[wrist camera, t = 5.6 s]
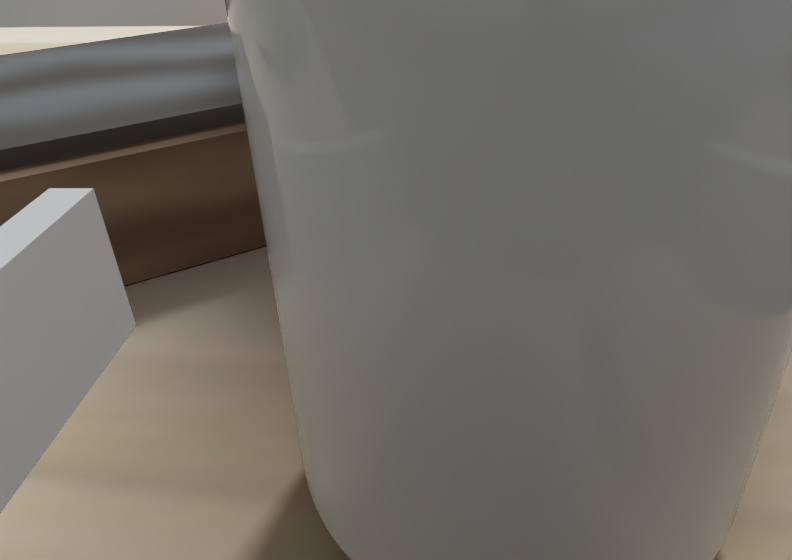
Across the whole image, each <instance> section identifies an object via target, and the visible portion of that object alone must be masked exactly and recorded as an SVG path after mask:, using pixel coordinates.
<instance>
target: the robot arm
mask: <svg viewBox="0 0 792 560" xmlns="http://www.w3.org/2000/svg"><path fill="white" fill-rule="evenodd" d="M135 326H136V323H135V320H134V317H133V313H132V310H131V307H130V304H129V301H128V297H127V294H126V291H125V288H124V284H123V281H122V278H121V275H120V272H119V268H118V265H117V262H116V259H115V256H114V252H113V249H112V246H111V243H110V240H109V236H108V233H107V230H106V227H105V224H104V220H103V217H102V214H101V211H100V208H99V204H98V201H97V198H96V195H95V192H94V188H49V189H48V190H46V191H45V192H44V193H43V194H41V195H40V196H39V197H37V198H36V199H35V200H34V201H32V202H31V203H30V204H28V205H27V206H26V207H25V208H23V209H22V210H21V211H20V212H18V213H17V214H16V215H14V216H13V217H12V218H11V219H9V220H8V221H7V222H5V223H4V224H3V225H2V226H0V513H1V512H2V510H3V509H4V507H5V506H6V505H7V503H8V502H9V500H10V499H11V498H12V496H13V495H14V494H15V492H16V491H17V489H18V488H19V487H20V485H21V484H22V483H23V481H24V480H25V478H26V477H27V476H28V474H29V473H30V471H31V470H32V469H33V467H34V466H35V465H36V463H37V462H38V460H39V459H40V458H41V456H42V455H43V453H44V452H45V451H46V449H47V448H48V447H49V445H50V444H51V442H52V441H53V440H54V438H55V437H56V436H57V434H58V433H59V431H60V430H61V429H62V427H63V426H64V424H65V423H66V422H67V420H68V419H69V418H70V416H71V415H72V413H73V412H74V411H75V409H76V408H77V406H78V405H79V404H80V402H81V401H82V400H83V398H84V397H85V395H86V394H87V393H88V391H89V390H90V389H91V387H92V386H93V384H94V383H95V382H96V380H97V379H98V377H99V376H100V375H101V373H102V372H103V371H104V369H105V368H106V366H107V365H108V364H109V362H110V361H111V359H112V358H113V357H114V355H115V354H116V353H117V351H118V350H119V348H120V347H121V346H122V344H123V343H124V342H125V340H126V339H127V337H128V336H129V335H130V333H131V332H132V330H133V329H134V328H135Z"/></svg>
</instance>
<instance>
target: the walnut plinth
mask: <svg viewBox="0 0 792 560" xmlns="http://www.w3.org/2000/svg"><path fill="white" fill-rule="evenodd" d="M49 188H94V192H95V195H96V198H97V201H98V204H99V208H100V211H101V214H102V217H103V220H104V224H105V227H106V230H107V233H108V236H109V240H110V243H111V246H112V249H113V252H114V256H115V259H116V262H117V265H118V268H119V272H120V275H121V278H122V281H123V284H124V286H125V285H129V284H132V283H136V282H140V281H143V280H147V279H150V278H154V277H157V276H161V275H164V274H168V273H171V272H175V271H178V270H182V269H185V268H189V267H192V266H196V265H199V264H203V263H207V262H210V261H214V260H217V259H221V258H224V257H228V256H231V255H235V254H238V253H242V252H245V251H249V250H252V249H256V248H259V247H263V246H266V242H265V236H264V230H263V224H262V218H261V212H260V207H259V201H258V195H257V189H256V183H255V177H254V171H253V165H252V159H251V154H250V148H249V142H248V136H247V130H246V124H245V118H244V112H243V106H242V101H241V95H240V89H239V83H238V77H237V71H236V65H235V59H234V53H233V47H232V42H231V36H230V30H229V24H228V23H222V24H215V25H208V26H201V27H195V28H188V29H181V30H174V31H167V32H160V33H153V34H146V35H139V36H132V37H125V38H118V39H111V40H104V41H97V42H90V43H83V44H76V45H69V46H62V47H55V48H48V49H41V50H35V51H28V52H21V53H14V54H7V55H0V226H2V225H3V224H4V223H5V222H7V221H8V220H9V219H11V218H12V217H13V216H14V215H16V214H17V213H18V212H20V211H21V210H22V209H23V208H25V207H26V206H27V205H28V204H30V203H31V202H32V201H34V200H35V199H36V198H37V197H39V196H40V195H41V194H43V193H44V192H45V191H46V190H48V189H49Z"/></svg>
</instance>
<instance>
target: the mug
mask: <svg viewBox="0 0 792 560" xmlns="http://www.w3.org/2000/svg"><path fill="white" fill-rule="evenodd" d="M225 6H226V12H227V18H228V24H229V30H230V36H231V42H232V47H233V53H234V59H235V65H236V71H237V77H238V83H239V89H240V95H241V101H242V106H243V112H244V118H245V124H246V130H247V136H248V142H249V148H250V154H251V159H252V165H253V171H254V177H255V183H256V189H257V195H258V201H259V207H260V212H261V218H262V224H263V230H264V236H265V242H266V248H267V254H268V260H269V265H270V271H271V277H272V283H273V289H274V295H275V301H276V307H277V313H278V319H279V324H280V330H281V336H282V342H283V348H284V354H285V360H286V366H287V372H288V377H289V383H290V389H291V395H292V401H293V407H294V413H295V419H296V425H297V430H298V436H299V442H300V448H301V454H302V460H303V466H304V471H305V476H306V480H307V484H308V487H309V491H310V494H311V497H312V499H313V502H314V504H315V507H316V509H317V512H318V514H319V516H320V517H321V519H322V521H323V523H324V525H325V527H326V528H327V530H328V532H329V533H330V535H331V536H332V537H333V539H334V540H335V542H336V543H337V544H338V546H339V547H340V549H341V550H342V551H343V552H344V553H345V554H346V555H347V557H348V558H349V559H350V560H713V559H714V557H715V556H716V554H717V553H718V551H719V550H720V548H721V547H722V545H723V543H724V541H725V539H726V537H727V535H728V532H729V530H730V528H731V526H732V523H733V521H734V518H735V515H736V512H737V509H738V506H739V503H740V500H741V497H742V495H743V492H744V489H745V486H746V483H747V480H748V477H749V474H750V471H751V468H752V465H753V463H754V460H755V457H756V454H757V451H758V448H759V445H760V442H761V439H762V436H763V433H764V431H765V428H766V425H767V422H768V419H769V416H770V413H771V410H772V407H773V404H774V401H775V399H776V396H777V393H778V390H779V387H780V384H781V381H782V378H783V375H784V372H785V369H786V367H787V364H788V361H789V358H790V355H791V352H792V0H225Z"/></svg>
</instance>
